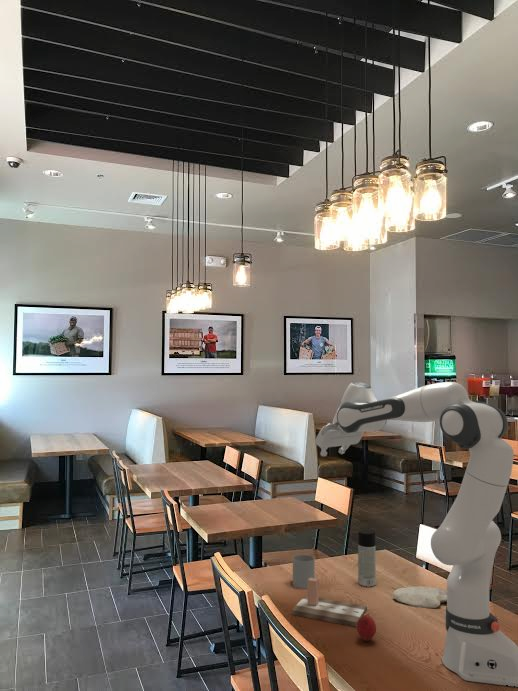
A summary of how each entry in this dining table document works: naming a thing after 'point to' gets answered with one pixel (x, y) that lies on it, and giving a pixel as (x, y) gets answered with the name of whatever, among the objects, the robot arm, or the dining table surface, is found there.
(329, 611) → the board with dashed strip
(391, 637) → the dining table surface
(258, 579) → the dining table surface
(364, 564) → the spray can
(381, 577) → the dining table surface
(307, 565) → the cup
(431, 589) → the fragment
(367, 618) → the onion
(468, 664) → the robot arm
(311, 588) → the stub
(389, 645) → the dining table surface
